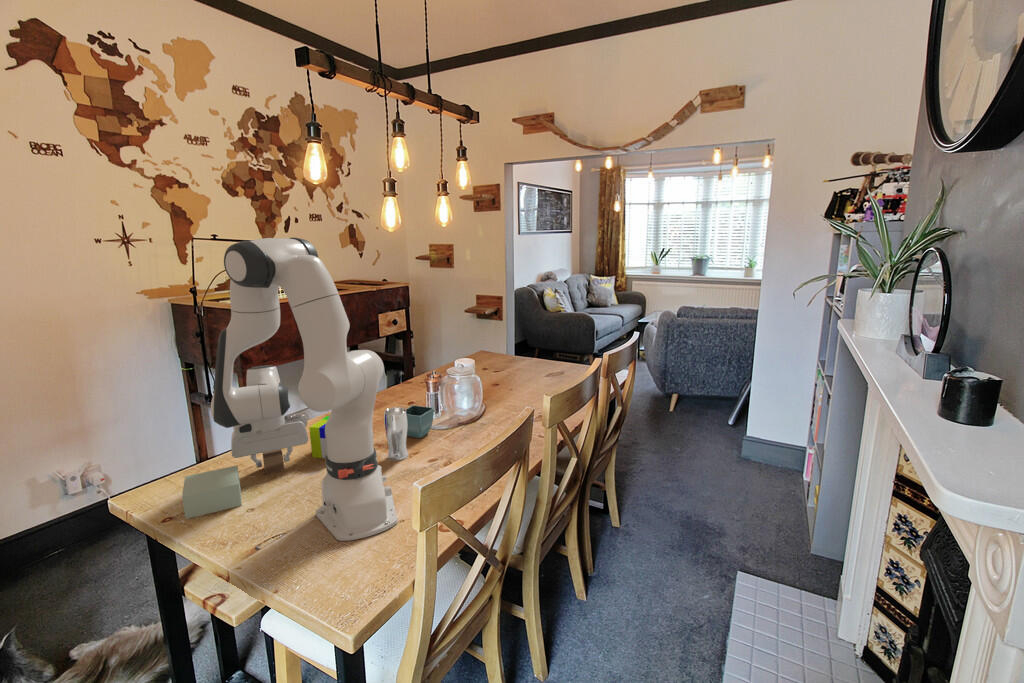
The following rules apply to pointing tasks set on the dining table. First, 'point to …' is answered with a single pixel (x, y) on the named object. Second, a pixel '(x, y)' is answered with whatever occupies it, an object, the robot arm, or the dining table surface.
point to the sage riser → (211, 491)
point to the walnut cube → (273, 461)
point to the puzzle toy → (318, 438)
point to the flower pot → (419, 420)
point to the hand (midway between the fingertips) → (273, 463)
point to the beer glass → (396, 432)
